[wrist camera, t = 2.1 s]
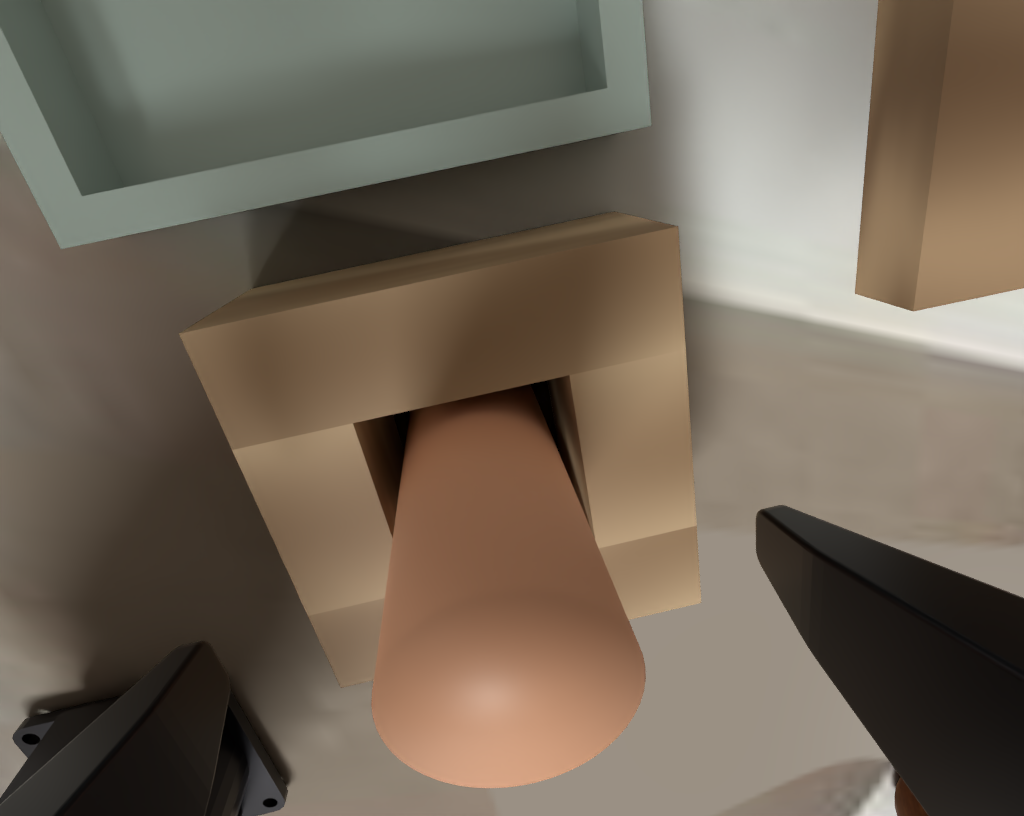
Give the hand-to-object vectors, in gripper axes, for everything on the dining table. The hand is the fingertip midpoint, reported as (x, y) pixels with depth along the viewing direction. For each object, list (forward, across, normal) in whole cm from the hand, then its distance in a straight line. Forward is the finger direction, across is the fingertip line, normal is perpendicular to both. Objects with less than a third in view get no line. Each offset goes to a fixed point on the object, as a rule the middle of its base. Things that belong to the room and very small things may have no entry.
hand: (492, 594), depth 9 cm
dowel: (+7, 0, 0) cm, 7 cm away
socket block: (+7, 0, 0) cm, 7 cm away
